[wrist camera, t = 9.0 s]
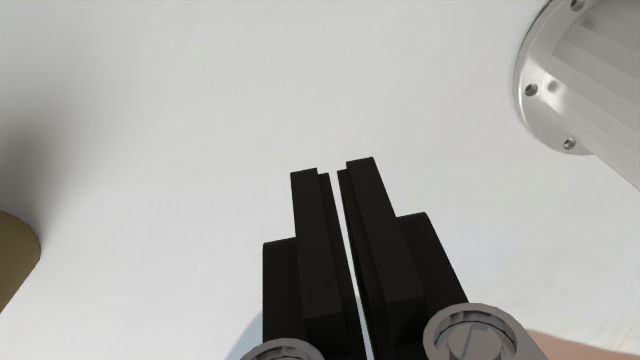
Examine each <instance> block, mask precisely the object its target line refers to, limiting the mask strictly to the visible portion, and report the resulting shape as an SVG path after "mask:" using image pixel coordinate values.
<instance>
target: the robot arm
mask: <svg viewBox="0 0 640 360" xmlns="http://www.w3.org/2000/svg"><path fill="white" fill-rule="evenodd" d="M513 95H514V101H515V107H516V110H517V112H518V115H519V117H520V120H521V122H522V123H523V124H524V126H525V127H526V128H527V130H528V131H529V132H530V133H531V134H532V135H533V136H534V137H535V138H536V139H537V140H538V141H540V142H541V143H542V144H544V145H545V146H547V147H549V148H550V149H552V150H554V151H557V152H560V153H563V154H569V155H579V156H584V155H596V156H597V157H598V158H599V159H601V160H602V161H603V162H604V163H606V164H607V165H608V166H609V167H610V168H612V169H613V170H614V171H615V172H617V173H618V174H619V175H620V176H622V177H623V178H624V179H625V180H626V181H628V182H629V183H630V184H631V185H633V186H634V187H635V188H636V189H638V190H639V191H640V0H553V1H552V2H551V3H550V4H549V5H548V6H547V7H546V9H545V10H544V11H543V12H542V14H541V15H540V16H539V17H538V18H537V20H536V21H535V23H534V25H533V26H532V28H531V30H530V31H529V33H528V35H527V36H526V38H525V40H524V43H523V45H522V48H521V50H520V52H519V55H518V58H517V62H516V67H515V71H514V79H513ZM346 167H347V169H344V170H339V171H337V175H338V181H339V186H340V192H341V198H342V203H343V209H344V214H345V220H346V226H347V231H348V237H349V243H350V248H351V254H352V259H353V265H354V271H355V276H356V281H357V286H358V290H359V295H360V299H361V304H362V308H363V312H364V316H365V321H366V325H367V330H368V334H369V339H370V343H371V348H372V352H373V356H374V360H549V359H548V358H547V357H546V355H545V354H544V353H543V352H542V350H541V349H540V348H539V347H538V346H537V344H536V343H535V342H534V340H533V339H532V338H531V337H530V335H529V334H528V333H527V332H526V330H525V329H524V328H523V327H522V325H521V324H520V323H519V322H518V321H517V320H515V319H514V318H513V317H512V316H511V315H510V314H508V313H506V312H504V311H502V310H501V309H499V308H497V307H493V306H489V305H486V304H482V303H469V301H468V299H467V297H466V295H465V293H464V291H463V289H462V287H461V285H460V282H459V280H458V278H457V276H456V274H455V272H454V270H453V268H452V266H451V263H450V261H449V259H448V257H447V255H446V253H445V251H444V249H443V247H442V245H441V242H440V240H439V238H438V236H437V234H436V232H435V230H434V228H433V226H432V224H431V221H430V219H429V217H428V216H427V214H426V213H425V212H421V213H416V214H411V215H405V216H400V217H396V216H395V213H394V210H393V208H392V205H391V202H390V200H389V197H388V195H387V192H386V189H385V187H384V184H383V182H382V179H381V176H380V174H379V171H378V169H377V166H376V163H375V161H374V158H373V157H368V158H363V159H358V160H353V161H348V162H346ZM290 178H291V189H292V200H293V211H294V222H295V233H296V237H292V238H287V239H282V240H277V241H272V242H267V243H264V244H263V344H261V345H259V346H256V347H254V348H253V349H252V350H251V351H249V352H248V353H247V354H245V355H244V356H243V357H242V358H241V359H240V360H367V356H366V350H365V345H364V339H363V334H362V329H361V323H360V318H359V312H358V307H357V303H356V298H355V293H354V288H353V284H352V279H351V274H350V270H349V265H348V260H347V256H346V251H345V247H344V242H343V237H342V233H341V228H340V224H339V219H338V214H337V210H336V205H335V200H334V196H333V191H332V187H331V182H330V177H329V173H323V174H318V172H317V168H312V169H307V170H302V171H297V172H291V173H290Z"/></svg>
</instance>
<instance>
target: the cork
mask: <svg viewBox="0 0 640 360" xmlns="http://www.w3.org/2000/svg"><path fill="white" fill-rule="evenodd" d="M40 252H41V247H40V244H39V241H38V237H37V236H36V235H35V233H34V232H33V231H32V230H31V228H30V227H29V226H28V225H26V224H25V223H24V222H22V221H21V220H20V219H18V218H17V217H15V216H12V215H10V214H7V213H5V212H3V211H0V313H1V312H2V311H3V309H4V308H5V307H6V305H7V304H8V303H9V301H10V300H11V299H12V297H13V296H14V295H15V293H16V292H17V290H18V289H19V288H20V286H21V285H22V284H23V282H24V281H25V280H26V278H27V277H28V276H29V274H30V273H31V272H32V270H33V269H34V267H35V266H36V264H37V263H38V261H39V260H40Z"/></svg>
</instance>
